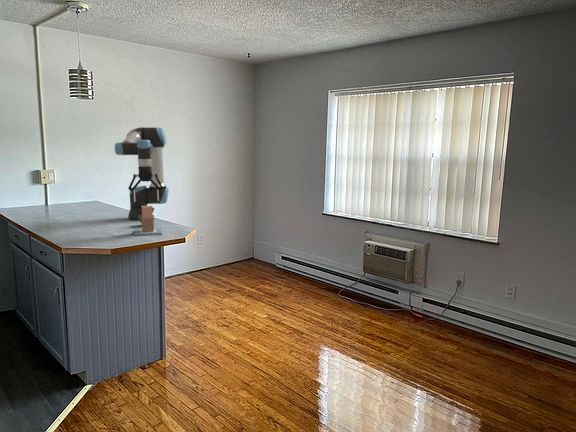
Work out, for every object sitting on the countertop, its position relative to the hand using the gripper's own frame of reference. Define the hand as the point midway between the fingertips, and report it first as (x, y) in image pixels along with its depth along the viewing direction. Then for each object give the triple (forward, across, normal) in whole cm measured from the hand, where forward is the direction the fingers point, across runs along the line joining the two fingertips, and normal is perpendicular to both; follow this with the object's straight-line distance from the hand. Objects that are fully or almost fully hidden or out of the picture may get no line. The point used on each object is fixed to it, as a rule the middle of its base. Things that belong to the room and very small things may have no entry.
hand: (146, 201), depth 269 cm
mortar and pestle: (+20, 0, +23) cm, 31 cm away
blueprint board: (+20, 0, -1) cm, 20 cm away
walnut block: (+18, 0, 0) cm, 18 cm away
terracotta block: (+10, 0, 0) cm, 10 cm away
